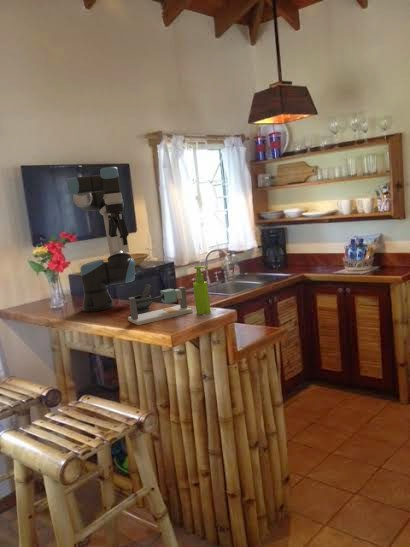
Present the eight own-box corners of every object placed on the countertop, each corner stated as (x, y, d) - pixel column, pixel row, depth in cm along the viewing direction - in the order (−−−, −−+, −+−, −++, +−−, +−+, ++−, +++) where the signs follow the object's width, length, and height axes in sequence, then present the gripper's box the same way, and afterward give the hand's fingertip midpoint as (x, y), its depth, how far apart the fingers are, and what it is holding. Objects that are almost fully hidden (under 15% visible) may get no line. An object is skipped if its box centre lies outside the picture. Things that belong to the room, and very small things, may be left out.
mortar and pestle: (139, 315, 222) (135, 289, 220) (127, 313, 229) (124, 287, 227) (159, 309, 229) (156, 283, 227) (148, 307, 236) (144, 282, 235)
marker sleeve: (161, 301, 218) (160, 290, 218) (172, 299, 221) (170, 288, 220) (166, 303, 214) (164, 292, 213) (176, 301, 216) (175, 289, 215)
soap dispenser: (210, 314, 208) (204, 267, 205) (194, 315, 211) (189, 268, 208) (214, 310, 214) (209, 264, 211) (199, 311, 216) (194, 265, 213)
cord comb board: (128, 320, 216) (124, 296, 214) (180, 308, 227) (177, 285, 225) (138, 325, 205) (134, 300, 203) (192, 312, 216) (189, 288, 214)
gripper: (97, 205, 227) (104, 251, 230) (114, 203, 205) (121, 254, 208) (113, 203, 230) (120, 249, 233) (131, 201, 208) (138, 251, 211)
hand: (120, 252), depth 221 cm, fingers open, 13 cm apart
